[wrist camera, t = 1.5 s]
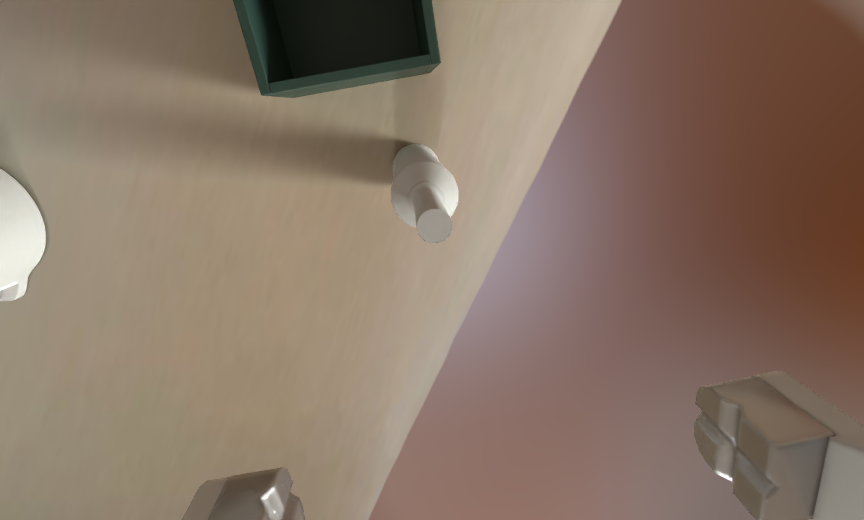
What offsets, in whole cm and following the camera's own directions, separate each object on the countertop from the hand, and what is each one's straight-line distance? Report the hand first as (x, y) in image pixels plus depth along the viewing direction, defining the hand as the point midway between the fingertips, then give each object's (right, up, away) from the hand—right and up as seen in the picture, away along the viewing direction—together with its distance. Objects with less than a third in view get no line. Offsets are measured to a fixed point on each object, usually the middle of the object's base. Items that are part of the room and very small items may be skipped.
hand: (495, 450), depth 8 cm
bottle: (-3, +14, +39) cm, 42 cm away
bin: (-10, +28, +33) cm, 45 cm away
